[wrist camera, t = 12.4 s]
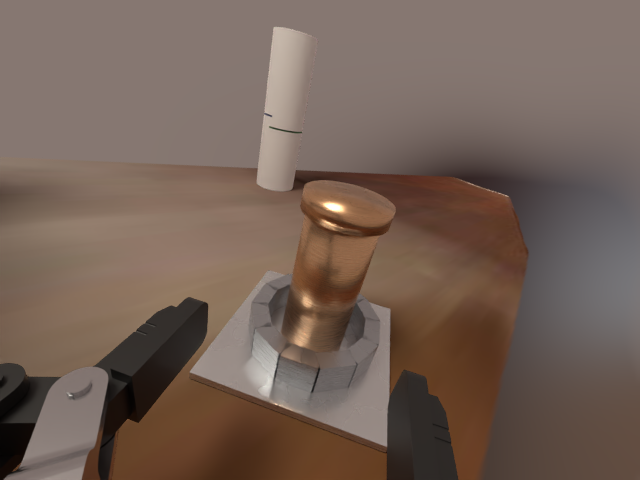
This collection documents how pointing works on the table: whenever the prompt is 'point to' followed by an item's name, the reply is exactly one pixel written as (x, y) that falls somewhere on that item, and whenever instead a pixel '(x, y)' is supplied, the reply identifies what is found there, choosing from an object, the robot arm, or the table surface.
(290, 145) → the cylindrical container
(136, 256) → the table surface
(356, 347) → the duct collar
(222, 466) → the table surface
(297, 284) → the copper pipe
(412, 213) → the table surface
